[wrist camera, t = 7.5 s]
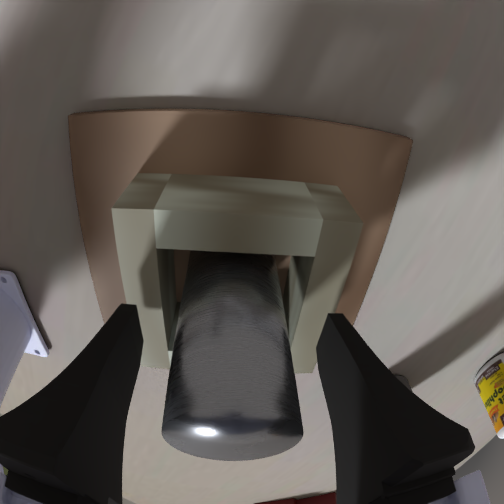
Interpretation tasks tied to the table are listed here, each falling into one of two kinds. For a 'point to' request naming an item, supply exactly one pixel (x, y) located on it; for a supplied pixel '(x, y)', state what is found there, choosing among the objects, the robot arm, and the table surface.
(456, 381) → the table surface
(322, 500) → the toy houses
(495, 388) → the supplement bottle
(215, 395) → the peg
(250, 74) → the table surface
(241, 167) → the socket
